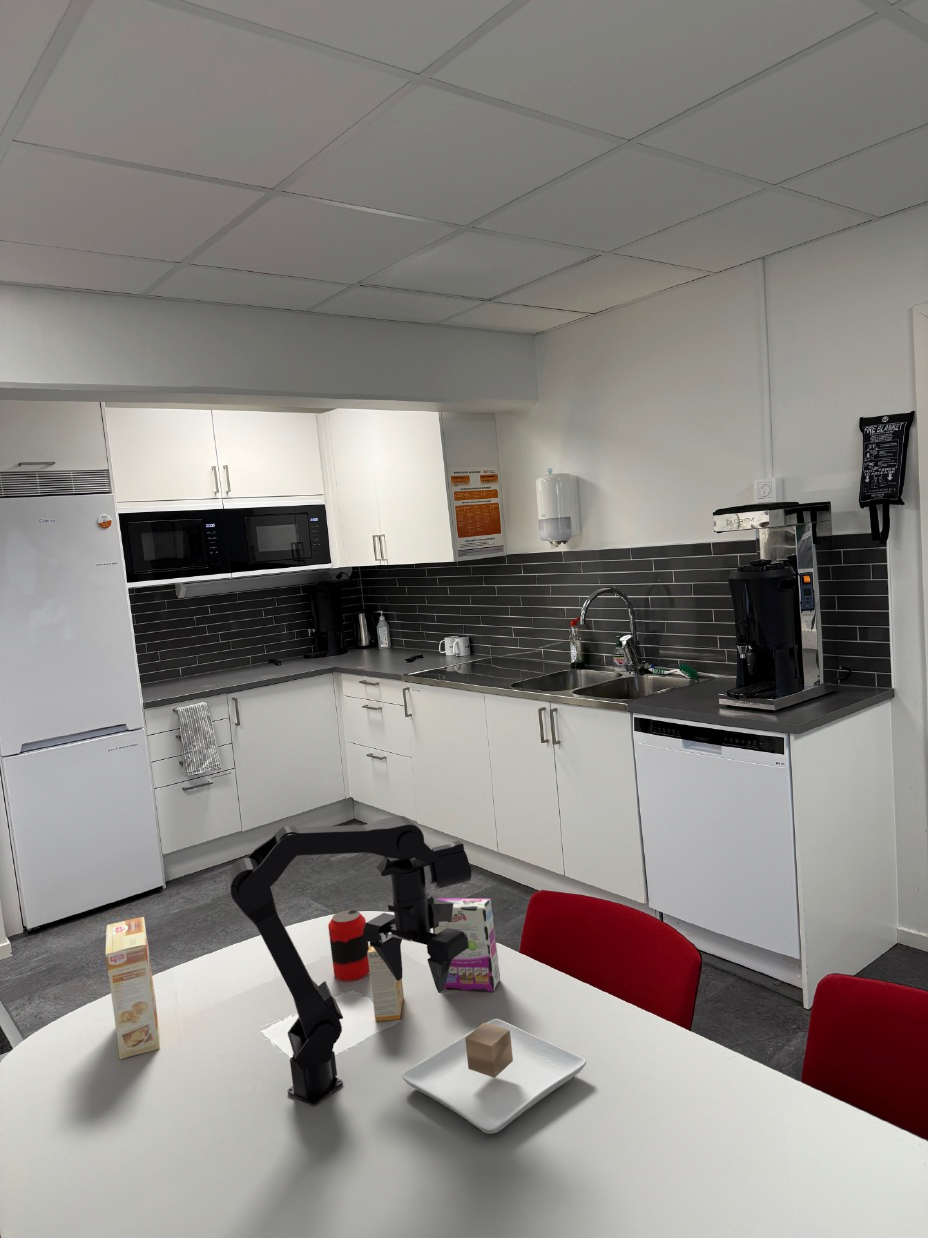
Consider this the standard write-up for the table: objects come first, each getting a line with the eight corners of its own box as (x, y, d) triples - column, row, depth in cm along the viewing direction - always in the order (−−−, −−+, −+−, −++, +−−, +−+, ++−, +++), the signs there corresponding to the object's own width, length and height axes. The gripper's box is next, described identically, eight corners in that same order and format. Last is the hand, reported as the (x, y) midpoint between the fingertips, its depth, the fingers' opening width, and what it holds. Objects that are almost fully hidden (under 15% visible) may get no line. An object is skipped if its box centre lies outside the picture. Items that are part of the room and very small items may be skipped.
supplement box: (401, 1020, 156) (393, 950, 155) (374, 1022, 156) (366, 952, 155) (405, 996, 164) (397, 930, 163) (380, 999, 164) (372, 932, 163)
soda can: (378, 967, 177) (372, 911, 177) (355, 985, 171) (348, 926, 170) (350, 961, 181) (343, 906, 181) (326, 978, 175) (319, 921, 174)
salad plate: (400, 1093, 135) (397, 1073, 135) (497, 1034, 149) (495, 1014, 149) (492, 1154, 119) (489, 1131, 119) (591, 1081, 133) (589, 1060, 133)
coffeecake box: (161, 1049, 155) (146, 944, 153) (118, 1061, 152) (103, 954, 151) (158, 1011, 169) (144, 915, 167) (119, 1022, 166) (105, 924, 165)
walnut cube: (494, 1078, 131) (491, 1046, 131) (468, 1069, 134) (465, 1038, 134) (512, 1061, 135) (509, 1030, 134) (487, 1052, 138) (484, 1022, 138)
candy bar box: (501, 979, 167) (492, 897, 166) (494, 993, 162) (485, 908, 161) (446, 977, 170) (437, 896, 169) (438, 990, 165) (429, 907, 164)
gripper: (483, 885, 143) (493, 976, 144) (400, 869, 154) (410, 953, 155) (441, 911, 134) (451, 1008, 135) (356, 892, 145) (366, 981, 147)
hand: (420, 985), depth 143 cm, fingers open, 9 cm apart
